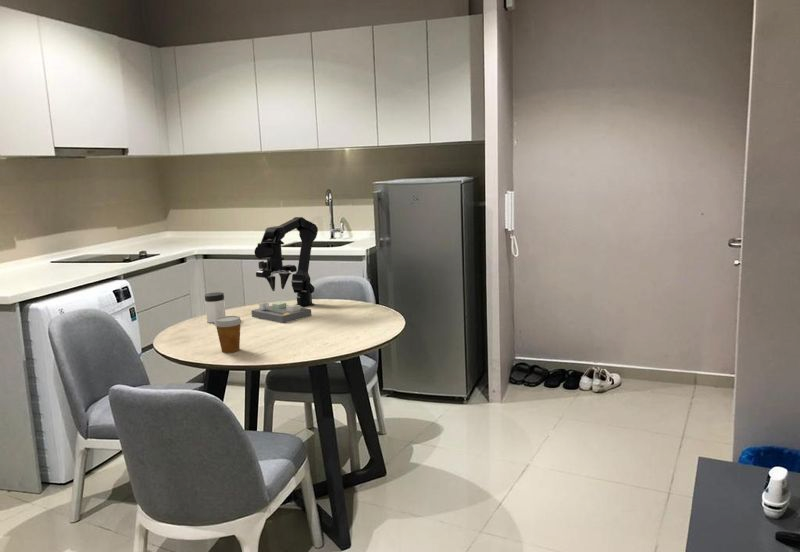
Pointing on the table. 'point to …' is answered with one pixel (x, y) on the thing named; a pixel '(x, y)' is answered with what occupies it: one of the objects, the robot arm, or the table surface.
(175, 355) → the table surface
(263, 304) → the slider knob
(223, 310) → the jar
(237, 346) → the disposable coffee cup
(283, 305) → the sage button
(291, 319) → the control panel
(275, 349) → the table surface
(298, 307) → the offwhite button
